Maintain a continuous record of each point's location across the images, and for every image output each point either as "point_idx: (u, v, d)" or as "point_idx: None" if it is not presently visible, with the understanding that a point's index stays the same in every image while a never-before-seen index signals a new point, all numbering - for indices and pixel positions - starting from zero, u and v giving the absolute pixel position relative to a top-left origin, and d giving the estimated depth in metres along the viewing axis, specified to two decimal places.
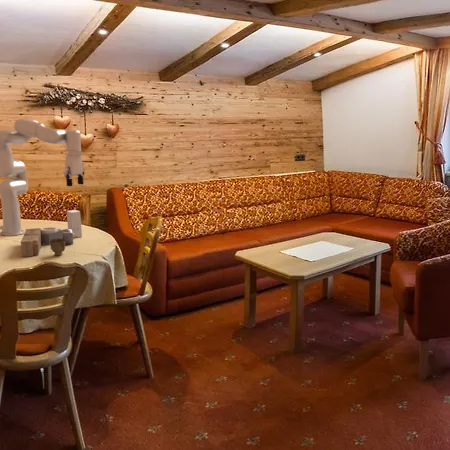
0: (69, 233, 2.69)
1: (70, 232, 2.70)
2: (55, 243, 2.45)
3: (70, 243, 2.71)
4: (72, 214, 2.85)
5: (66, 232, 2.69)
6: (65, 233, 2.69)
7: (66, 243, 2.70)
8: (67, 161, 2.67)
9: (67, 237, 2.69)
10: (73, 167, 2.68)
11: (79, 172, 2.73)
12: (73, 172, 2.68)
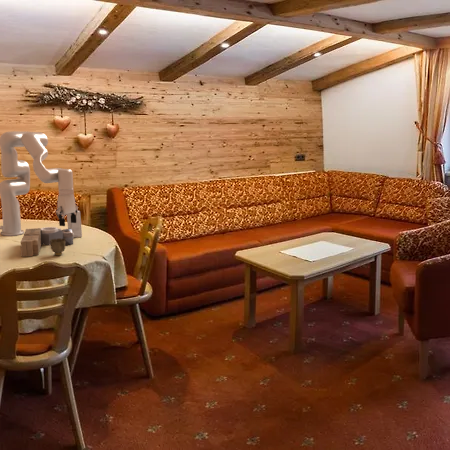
0: (69, 233, 2.69)
1: (70, 232, 2.70)
2: (55, 243, 2.45)
3: (70, 243, 2.71)
4: None
5: (66, 232, 2.69)
6: (65, 233, 2.69)
7: (66, 243, 2.70)
8: (59, 201, 2.64)
9: (67, 237, 2.69)
10: (65, 207, 2.64)
11: (72, 211, 2.69)
12: (66, 212, 2.65)
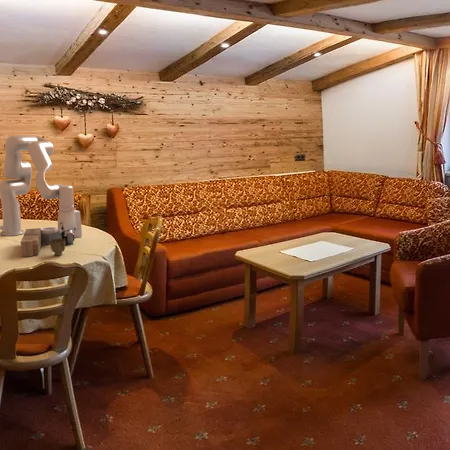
0: (69, 233, 2.69)
1: (70, 232, 2.70)
2: (55, 243, 2.45)
3: (70, 243, 2.71)
4: None
5: None
6: None
7: (66, 243, 2.70)
8: (60, 217, 2.65)
9: (67, 237, 2.69)
10: (66, 223, 2.66)
11: (72, 227, 2.71)
12: (66, 228, 2.67)
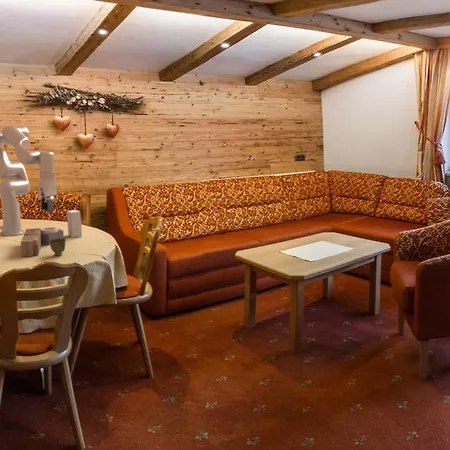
0: (49, 199, 2.70)
1: (50, 198, 2.70)
2: (55, 243, 2.45)
3: (50, 209, 2.71)
4: (72, 214, 2.85)
5: None
6: None
7: None
8: (40, 183, 2.66)
9: (47, 203, 2.70)
10: (46, 189, 2.67)
11: (52, 193, 2.72)
12: (46, 194, 2.67)
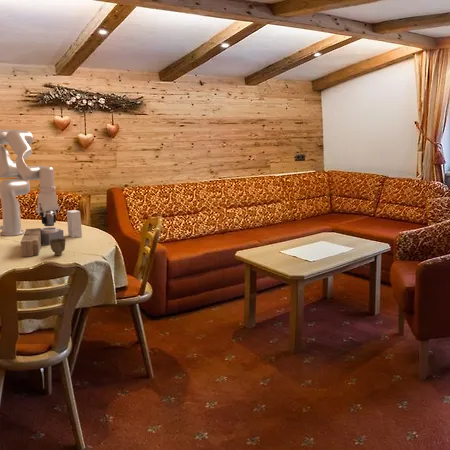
0: (48, 214, 2.71)
1: (50, 213, 2.71)
2: (55, 243, 2.45)
3: (50, 224, 2.72)
4: (72, 214, 2.85)
5: (46, 213, 2.71)
6: None
7: (46, 224, 2.72)
8: (39, 198, 2.68)
9: (47, 218, 2.71)
10: (44, 204, 2.68)
11: (52, 208, 2.73)
12: (44, 209, 2.69)
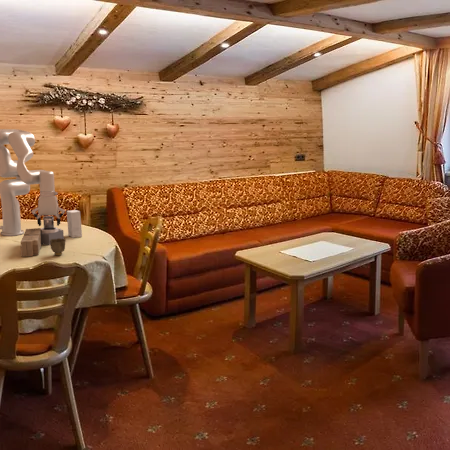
0: (45, 220, 2.72)
1: (46, 219, 2.72)
2: (55, 243, 2.45)
3: None
4: (72, 214, 2.85)
5: (43, 219, 2.73)
6: (43, 219, 2.73)
7: (44, 229, 2.74)
8: None
9: (44, 224, 2.73)
10: (40, 208, 2.70)
11: (50, 213, 2.72)
12: (40, 212, 2.71)
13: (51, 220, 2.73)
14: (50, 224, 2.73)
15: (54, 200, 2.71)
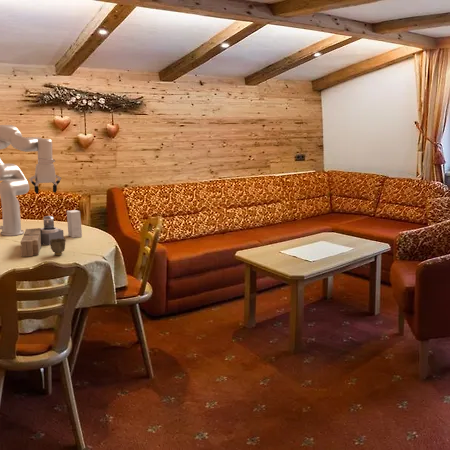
0: (45, 220, 2.72)
1: (46, 219, 2.72)
2: (55, 243, 2.45)
3: None
4: (72, 214, 2.85)
5: (43, 218, 2.73)
6: (43, 219, 2.73)
7: (44, 229, 2.74)
8: (36, 169, 2.73)
9: (44, 224, 2.73)
10: (39, 175, 2.72)
11: (49, 180, 2.76)
12: (39, 180, 2.73)
13: (51, 220, 2.73)
14: (50, 224, 2.73)
15: (53, 167, 2.76)
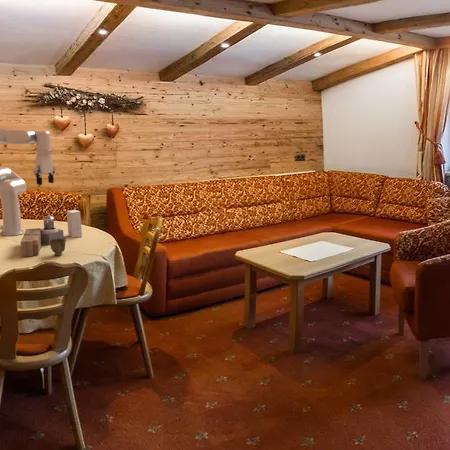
0: (45, 220, 2.72)
1: (46, 219, 2.72)
2: (55, 243, 2.45)
3: None
4: (72, 214, 2.85)
5: (43, 218, 2.73)
6: None
7: (44, 229, 2.74)
8: (37, 160, 2.79)
9: (44, 223, 2.73)
10: (43, 166, 2.79)
11: (49, 171, 2.85)
12: (43, 171, 2.80)
13: (51, 220, 2.73)
14: (50, 224, 2.73)
15: (51, 158, 2.85)
